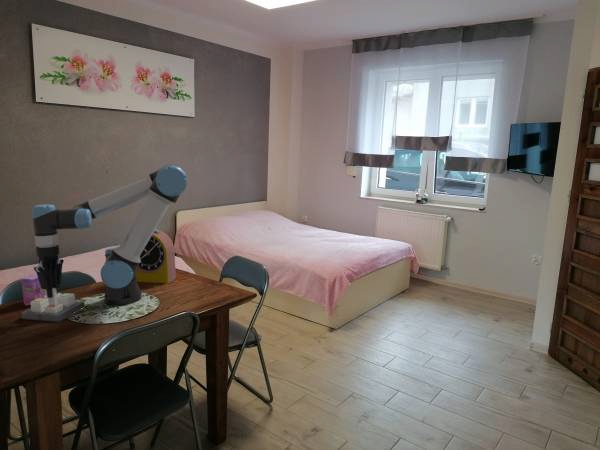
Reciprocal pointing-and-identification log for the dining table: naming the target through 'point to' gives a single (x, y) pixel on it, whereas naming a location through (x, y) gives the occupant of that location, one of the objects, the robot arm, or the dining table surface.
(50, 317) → the keypad board
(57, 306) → the terracotta key
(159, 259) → the alarm clock
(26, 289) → the box
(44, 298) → the slate key
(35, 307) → the mustard key
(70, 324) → the dining table surface
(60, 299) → the sage key
